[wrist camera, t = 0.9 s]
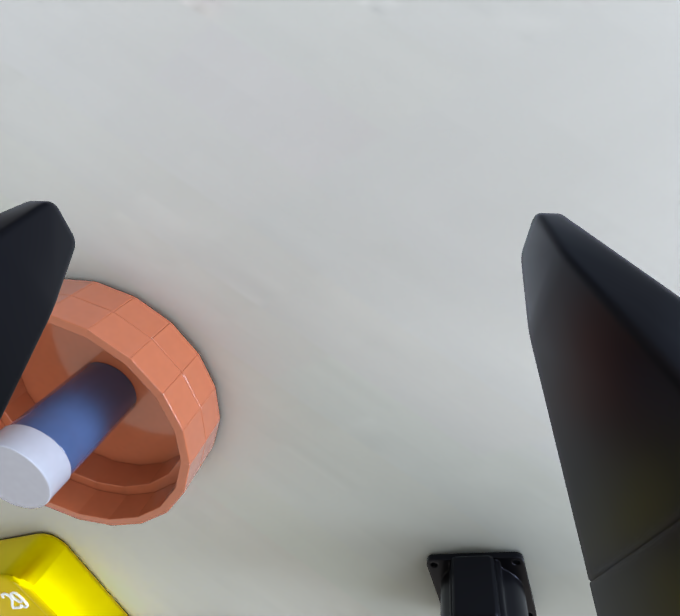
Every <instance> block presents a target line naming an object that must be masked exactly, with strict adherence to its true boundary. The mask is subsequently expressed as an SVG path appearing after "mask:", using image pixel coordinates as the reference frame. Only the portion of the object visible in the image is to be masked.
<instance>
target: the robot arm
mask: <svg viewBox="0 0 680 616" xmlns="http://www.w3.org/2000/svg"><path fill="white" fill-rule="evenodd" d="M74 248H75V240H74V236H73V234H72V232H71V230H70V229H69V227H68V225H67V223H66V221H65V220H64V218H63V216H62V214H61V213H60V211H59V209H58V208H57V206H56V205H55V204H53V203H51V202H48V201H29V202H26V203H23V204H21V205H19V206H16V207H14V208H12V209H9V210H7V211H5V212H2V213H0V419H1V417H2V415H3V413H4V411H5V409H6V407H7V405H8V403H9V401H10V399H11V397H12V395H13V392H14V390H15V388H16V386H17V384H18V382H19V380H20V378H21V376H22V374H23V372H24V370H25V368H26V366H27V364H28V361H29V359H30V357H31V355H32V353H33V351H34V349H35V347H36V345H37V343H38V341H39V339H40V337H41V335H42V332H43V330H44V328H45V326H46V324H47V322H48V320H49V318H50V315H51V313H52V311H53V308H54V306H55V303H56V300H57V298H58V295H59V292H60V289H61V286H62V283H63V280H64V277H65V275H66V272H67V269H68V266H69V263H70V260H71V257H72V254H73V251H74ZM521 263H522V273H523V282H524V292H525V301H526V311H527V321H528V328H529V334H530V339H531V344H532V348H533V352H534V356H535V360H536V364H537V368H538V372H539V376H540V381H541V385H542V389H543V393H544V397H545V401H546V405H547V409H548V413H549V418H550V422H551V426H552V430H553V434H554V438H555V442H556V446H557V450H558V455H559V459H560V463H561V467H562V471H563V475H564V479H565V483H566V487H567V492H568V496H569V500H570V504H571V508H572V512H573V516H574V520H575V524H576V529H577V533H578V537H579V541H580V545H581V549H582V553H583V557H584V561H585V566H586V570H587V574H588V578H589V580H590V581H591V582H590V587H591V591H592V596H593V600H594V604H595V608H596V612H597V616H680V297H679V296H677V295H676V294H674V293H673V292H671V291H670V290H669V289H667V288H666V287H664V286H663V285H662V284H660V283H659V282H657V281H656V280H654V279H653V278H652V277H650V276H649V275H647V274H646V273H644V272H643V271H642V270H640V269H639V268H637V267H636V266H634V265H633V264H632V263H630V262H629V261H627V260H626V259H625V258H623V257H622V256H620V255H619V254H617V253H616V252H615V251H613V250H612V249H610V248H609V247H607V246H606V245H605V244H603V243H602V242H600V241H599V240H597V239H596V238H595V237H593V236H592V235H590V234H589V233H588V232H586V231H585V230H583V229H582V228H580V227H579V226H578V225H576V224H575V223H573V222H572V221H570V220H569V219H568V218H566V217H565V216H563V215H562V214H554V213H539V214H537V215H536V216H535V217H534V219H533V221H532V223H531V226H530V229H529V232H528V235H527V238H526V241H525V244H524V247H523V251H522V257H521ZM427 566H428V569H429V572H430V574H431V577H432V580H433V583H434V586H435V589H436V592H437V594H438V597H439V600H440V603H441V616H536V610H535V605H534V601H533V597H532V592H531V588H530V584H529V580H528V575H527V571H526V567H525V563H524V558H523V556H522V554H520V553H518V552H499V553H471V554H444V555H430V556H428V558H427Z"/></svg>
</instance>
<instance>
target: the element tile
mask: <svg viewBox="0 0 680 616" xmlns="http://www.w3.org/2000/svg"><path fill="white" fill-rule="evenodd" d="M0 616H128V615H127V613H126V612H125V611H124V610H123V609H122V608H121V607H120V605H119V604H118V603H117V602H116V601H115V600H114V599H113V597H112V596H111V595H110V594H109V593H108V592H107V591H106V589H105V588H104V587H103V586H102V585H101V584H100V582H99V581H98V580H97V579H96V578H95V577H94V576H93V574H92V573H91V572H90V571H89V570H88V569H87V568H86V566H85V565H84V564H83V563H82V562H81V561H80V560H79V558H78V557H77V556H76V555H75V554H74V553H73V551H72V550H71V549H70V548H69V547H68V546H67V545H66V544H65V543H64V542H63V541H61V540H60V539H58V538H57V537H55V536H52V535H49V534H44V533H39V534H33V535H27V536H21V537H16V538H10V539H4V540H0Z"/></svg>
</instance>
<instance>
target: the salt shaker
mask: <svg viewBox="0 0 680 616" xmlns="http://www.w3.org/2000/svg"><path fill="white" fill-rule="evenodd" d="M136 401H137V396H136V391H135V388H134V386H133V384H132V383H131V381H130V380H129V379H128V378H127V377H126V375H125V374H123V373H122V372H121V371H120V370H118V369H117V368H115V367H113V366H111V365H108V364H106V363H101V362H92V363H88V364H86V365H84V366H83V367H81V368H80V369H79V370H77V371H76V372H75V373H74V374H72V375H71V376H70V377H69V378H67V379H66V380H65V381H64V382H62V383H61V384H60V385H59V386H57V387H56V388H55V389H54V390H52V391H51V392H50V393H48V394H47V395H46V396H45V397H43V398H42V399H41V400H40V401H38V402H37V403H36V404H35V405H33V406H32V407H31V408H30V409H28V410H27V411H26V412H25V413H23V414H22V415H21V416H19V417H18V418H17V419H16V420H14V421H13V422H12V423H11V424H9V425H7V426H5V427H3V428H1V429H0V498H1V499H3V500H5V501H6V502H8V503H11V504H13V505H16V506H19V507H22V508H29V509H35V508H40V507H42V506H44V505H46V504H47V503H48V502H49V501H50V500H51V499H52V498H53V497H54V496H55V495H56V494H57V492H58V491H59V490H60V489H61V488H62V487H63V486H64V485H65V484H66V483H67V482H68V480H69V479H70V476H71V475H72V474H73V473H74V472H75V471H76V470H77V469H78V467H79V466H80V465H81V464H82V463H83V462H84V461H85V460H86V459H87V458H88V457H89V456H90V455H91V454H92V453H93V452H94V450H95V449H96V448H97V447H98V446H99V445H100V444H101V443H102V442H103V441H104V440H105V439H106V438H107V437H108V436H109V434H110V433H111V432H112V431H113V430H114V429H115V428H116V427H117V426H118V425H119V424H120V423H121V422H122V421H123V420H124V419H125V417H126V416H127V415H128V414H129V413H130V412H131V411H132V410H133V409H134V407H135V405H136Z"/></svg>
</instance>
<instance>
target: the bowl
mask: <svg viewBox="0 0 680 616" xmlns="http://www.w3.org/2000/svg"><path fill="white" fill-rule="evenodd" d="M92 362H101V363H106V364H108V365H111V366H113V367H115V368H117V369H118V370H120V371H121V372H122V373H123V374H125V375H126V377H127V378H128V379H129V380H130V381H131V383H132V384H133V386H134V388H135V391H136V396H137V401H136V405H135V407H134V409H133V410H132V411H131V412H130V413H129V414H128V415H127V416H126V417H125V419H124V420H123V421H122V422H121V423H120V424H119V425H118V426H117V427H116V428H115V429H114V430H113V431H112V432H111V433H110V434H109V436H108V437H107V438H106V439H105V440H104V441H103V442H102V443H101V444H100V445H99V446H98V447H97V448H96V449H95V450H94V452H93V453H92V454H91V455H90V456H89V457H88V458H87V459H86V460H85V461H84V462H83V463H82V464H81V465H80V466H79V467H78V469H77V470H76V471H75V472H74V473H73V474H72V475H71V476H70V479H69V480H68V482H67V483H66V484H65V485H64V486H63V487H62V488H61V489H60V490H59V491H58V492H57V494H56V495H55V496H54V497H53V498H52V499H51V500H50V501H49V502H48V503H47V504H46V505H45V506H47V507H49V508H52V509H54V510H57V511H59V512H62V513H64V514H67V515H69V516H72V517H74V518H77V519H80V520H86V521H91V522H96V523H102V524H107V525H126V524H140V523H144V522H146V521H148V520H151V519H153V518H155V517H157V516H160V515H162V514H164V513H166V512H168V511H169V510H170V509H171V507H172V506H173V505H174V504H175V503H176V502H177V500H178V499H179V498H180V497H181V496H182V494H183V493H184V492H185V490H186V489H187V487H188V486H189V484H190V482H191V481H192V479H193V478H194V476H195V474H196V473H197V471H198V470H199V468H200V466H201V465H202V463H203V462H204V460H205V458H206V457H207V455H208V454H209V452H210V450H211V449H212V447H213V445H214V442H215V438H216V434H217V430H218V426H219V422H220V415H219V408H218V401H217V395H216V388H215V385H214V383H213V381H212V379H211V377H210V375H209V373H208V371H207V369H206V367H205V365H204V363H203V361H202V359H201V357H200V355H199V354H198V352H197V351H196V350H195V349H194V348H193V347H192V346H191V344H190V343H189V342H188V341H187V340H186V339H185V338H184V336H183V335H182V334H181V333H180V332H179V331H178V330H177V328H176V327H175V326H174V325H173V324H172V323H171V322H170V321H169V320H167V319H166V318H164V317H163V316H162V315H160V314H159V313H157V312H156V311H155V310H153V309H152V308H150V307H149V306H147V305H146V304H145V303H143V302H142V301H140V300H139V299H137V298H136V297H134V296H132V295H129V294H127V293H124V292H122V291H119V290H116V289H114V288H111V287H109V286H106V285H103V284H101V283H98V282H95V281H83V280H71V279H64V280H63V283H62V286H61V289H60V292H59V295H58V298H57V300H56V303H55V306H54V308H53V311H52V313H51V315H50V318H49V320H48V322H47V324H46V326H45V328H44V330H43V332H42V335H41V337H40V339H39V341H38V343H37V345H36V347H35V349H34V351H33V353H32V355H31V357H30V359H29V361H28V364H27V366H26V368H25V370H24V372H23V374H22V376H21V378H20V380H19V382H18V384H17V386H16V388H15V390H14V392H13V395H12V397H11V399H10V401H9V403H8V405H7V407H6V409H5V411H4V413H3V415H2V417H1V419H0V429H1V428H3V427H5V426H7V425H9V424H11V423H12V422H13V421H14V420H16V419H17V418H18V417H19V416H21V415H22V414H23V413H25V412H26V411H27V410H28V409H30V408H31V407H32V406H33V405H35V404H36V403H37V402H38V401H40V400H41V399H42V398H43V397H45V396H46V395H47V394H48V393H50V392H51V391H52V390H54V389H55V388H56V387H57V386H59V385H60V384H61V383H62V382H64V381H65V380H66V379H67V378H69V377H70V376H71V375H72V374H74V373H75V372H76V371H77V370H79V369H80V368H81V367H83V366H84V365H86V364H88V363H92Z"/></svg>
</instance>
